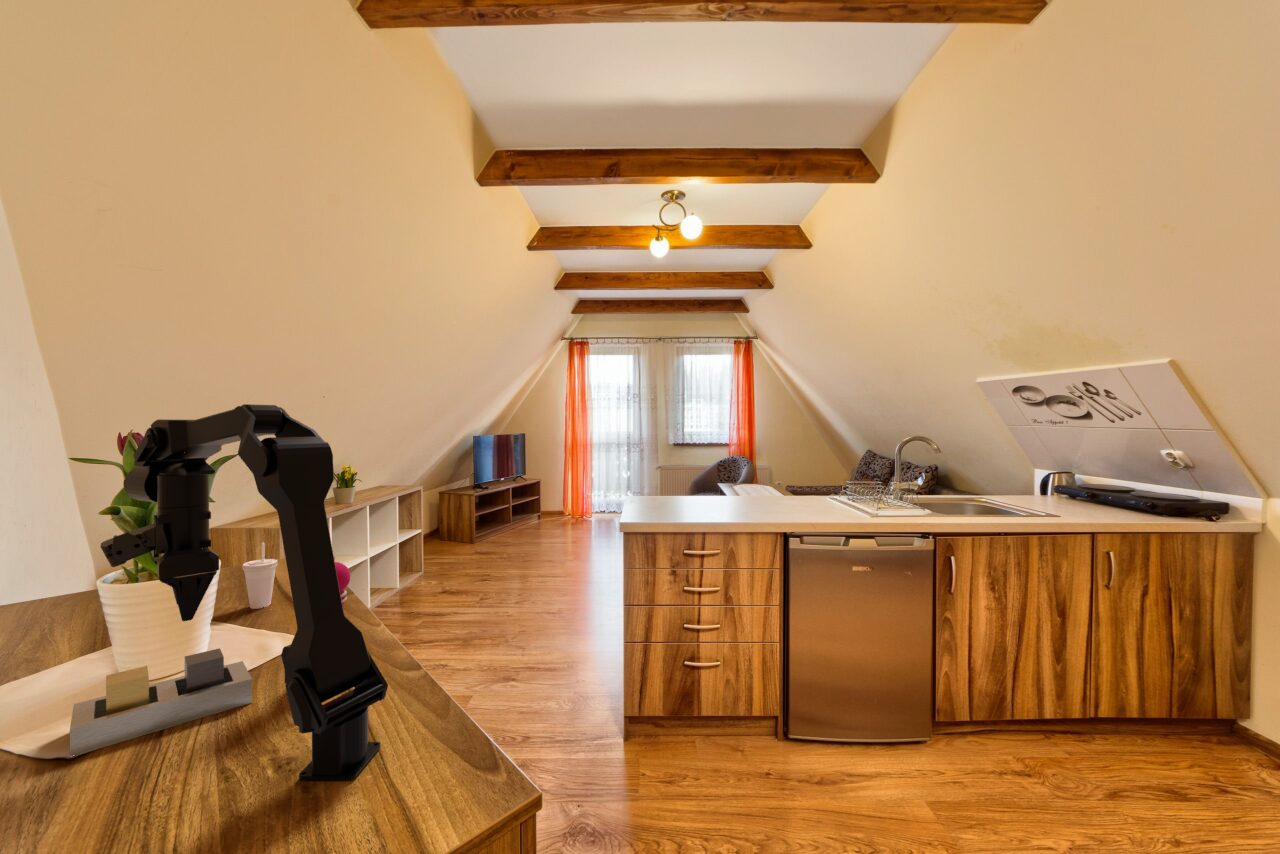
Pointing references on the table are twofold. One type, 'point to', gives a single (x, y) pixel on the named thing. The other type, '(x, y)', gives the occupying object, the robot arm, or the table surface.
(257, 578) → the smoothie
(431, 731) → the table surface
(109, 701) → the wooden toy block
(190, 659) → the grey slotted block holder
